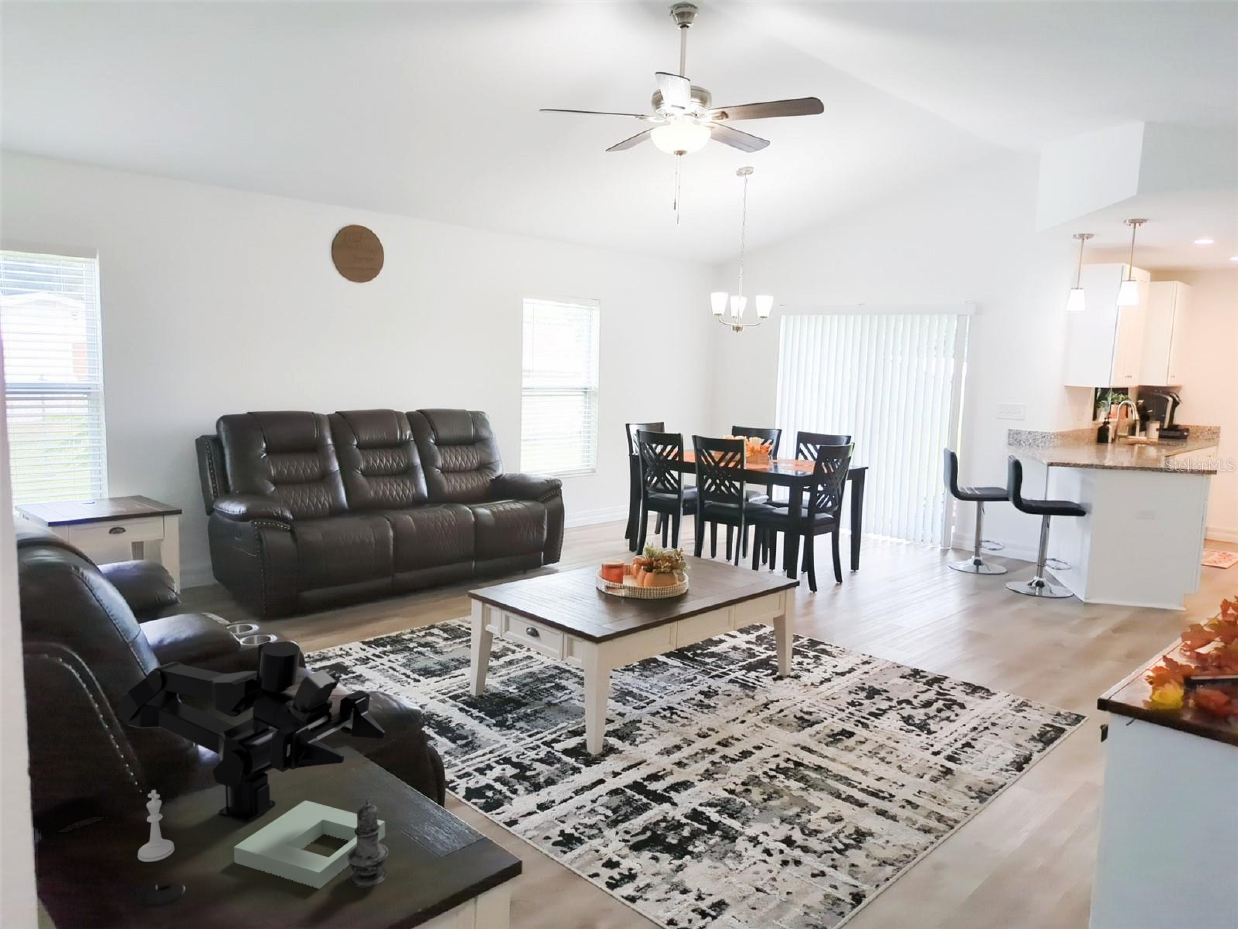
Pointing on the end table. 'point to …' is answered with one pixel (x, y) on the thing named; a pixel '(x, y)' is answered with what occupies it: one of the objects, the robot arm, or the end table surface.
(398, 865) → the end table surface
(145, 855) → the chess piece
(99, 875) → the end table surface
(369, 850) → the grey stone chess bishop
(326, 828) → the socket board
